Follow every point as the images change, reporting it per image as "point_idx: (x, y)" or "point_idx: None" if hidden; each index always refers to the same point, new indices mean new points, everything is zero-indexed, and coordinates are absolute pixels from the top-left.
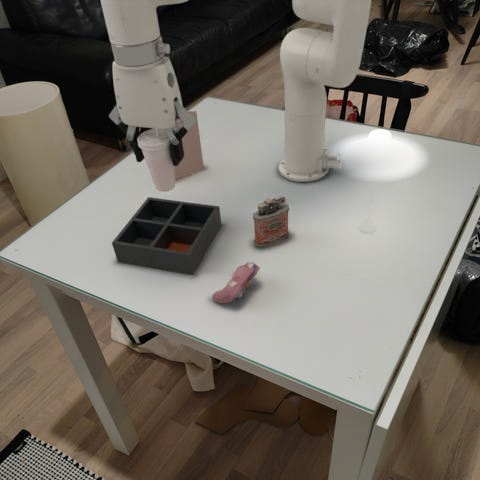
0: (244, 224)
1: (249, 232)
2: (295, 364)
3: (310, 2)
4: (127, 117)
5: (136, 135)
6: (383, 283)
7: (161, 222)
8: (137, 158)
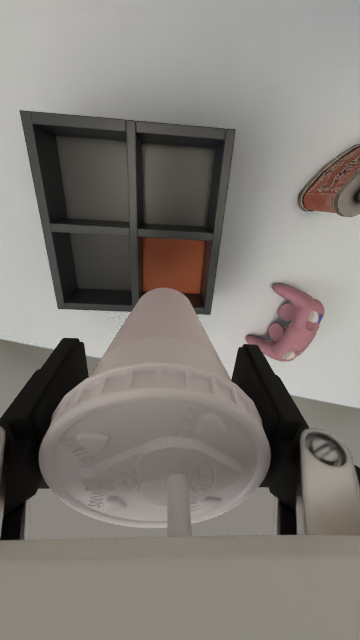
0: (274, 124)
1: (286, 157)
2: (337, 392)
3: None
4: None
5: (30, 487)
6: None
7: (118, 228)
8: None
